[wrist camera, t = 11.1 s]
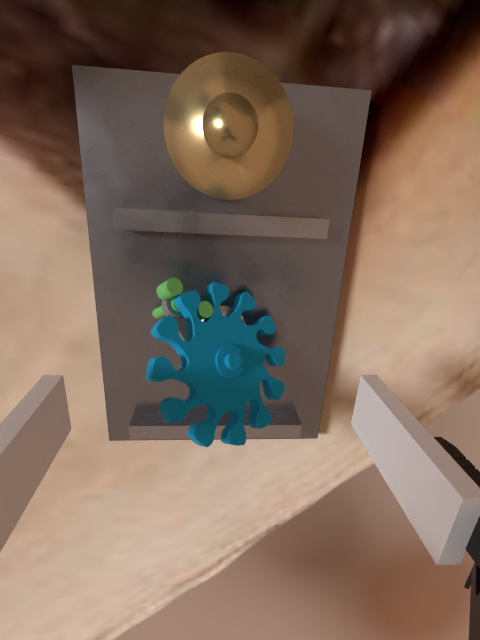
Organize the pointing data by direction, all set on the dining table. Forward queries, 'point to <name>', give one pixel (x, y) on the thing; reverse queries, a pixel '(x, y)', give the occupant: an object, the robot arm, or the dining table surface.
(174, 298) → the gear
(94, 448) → the dining table surface
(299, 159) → the board
